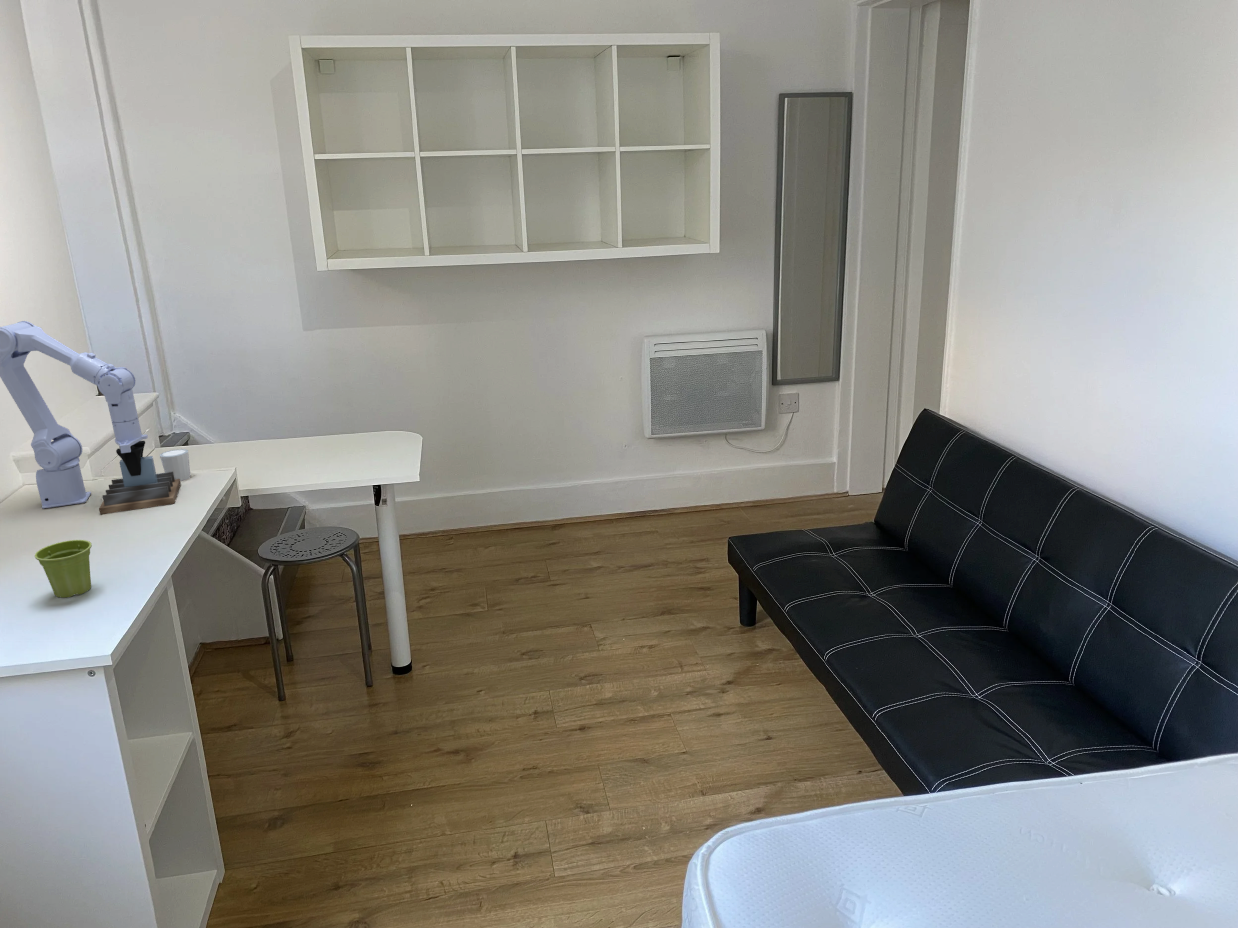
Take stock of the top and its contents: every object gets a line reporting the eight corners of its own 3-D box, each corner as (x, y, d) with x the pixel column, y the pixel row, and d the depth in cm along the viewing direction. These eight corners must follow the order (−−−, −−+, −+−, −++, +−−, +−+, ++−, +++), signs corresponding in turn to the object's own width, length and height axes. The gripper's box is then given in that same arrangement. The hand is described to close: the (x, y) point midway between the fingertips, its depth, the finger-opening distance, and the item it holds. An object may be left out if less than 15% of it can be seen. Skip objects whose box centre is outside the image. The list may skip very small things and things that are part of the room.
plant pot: (111, 580, 182) (102, 539, 179) (80, 602, 173) (70, 559, 171) (67, 580, 183) (56, 539, 180) (33, 602, 174) (22, 559, 172)
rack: (100, 514, 220) (96, 498, 219) (111, 493, 234) (108, 478, 233) (174, 503, 225) (171, 488, 223) (180, 484, 239) (177, 469, 238)
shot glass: (198, 476, 245) (193, 450, 243) (175, 483, 240) (169, 457, 238) (183, 472, 249) (177, 447, 247) (159, 480, 243) (153, 454, 241)
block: (126, 493, 227) (119, 462, 224) (127, 490, 229) (120, 459, 227) (157, 489, 229) (151, 458, 226) (158, 486, 231) (152, 455, 229)
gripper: (139, 424, 218) (151, 479, 222) (147, 410, 231) (158, 463, 235) (105, 428, 216) (118, 484, 220) (115, 414, 229) (127, 467, 233)
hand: (136, 473), depth 227 cm, fingers closed on block, 2 cm apart
